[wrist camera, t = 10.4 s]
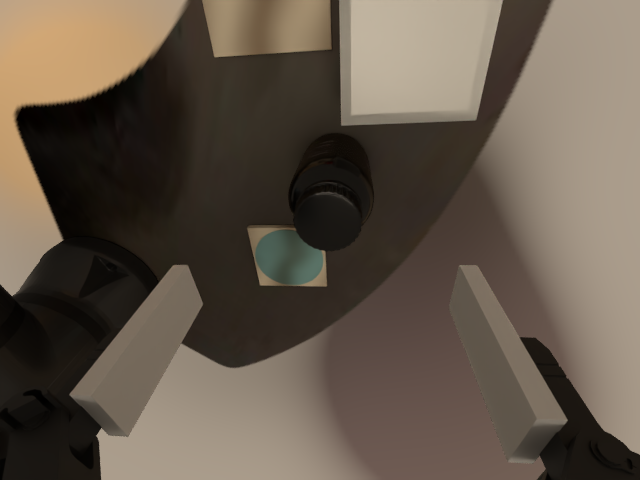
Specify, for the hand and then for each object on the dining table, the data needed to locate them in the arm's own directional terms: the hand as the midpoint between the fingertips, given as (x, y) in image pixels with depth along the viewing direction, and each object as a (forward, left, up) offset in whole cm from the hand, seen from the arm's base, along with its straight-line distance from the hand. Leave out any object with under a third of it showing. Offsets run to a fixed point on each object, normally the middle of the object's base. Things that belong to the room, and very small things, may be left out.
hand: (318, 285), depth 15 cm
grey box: (+5, +10, -18) cm, 21 cm away
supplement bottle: (0, 0, -19) cm, 19 cm away
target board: (-6, -12, -18) cm, 23 cm away
